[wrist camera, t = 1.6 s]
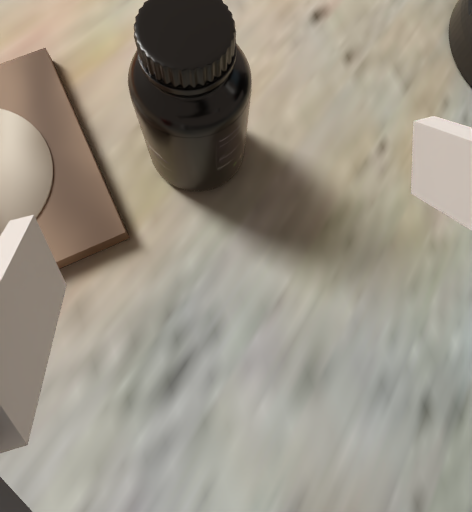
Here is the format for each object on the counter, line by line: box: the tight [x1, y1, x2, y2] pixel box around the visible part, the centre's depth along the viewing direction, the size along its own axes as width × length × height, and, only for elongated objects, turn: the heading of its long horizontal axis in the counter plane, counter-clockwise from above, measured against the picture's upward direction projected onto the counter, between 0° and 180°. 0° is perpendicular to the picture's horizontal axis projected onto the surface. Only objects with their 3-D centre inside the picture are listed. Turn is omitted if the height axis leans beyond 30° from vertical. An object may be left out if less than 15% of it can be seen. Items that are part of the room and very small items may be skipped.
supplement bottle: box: [128, 0, 251, 191], centre depth 26 cm, size 7×7×12 cm
